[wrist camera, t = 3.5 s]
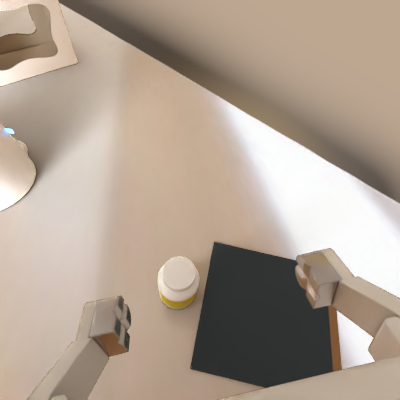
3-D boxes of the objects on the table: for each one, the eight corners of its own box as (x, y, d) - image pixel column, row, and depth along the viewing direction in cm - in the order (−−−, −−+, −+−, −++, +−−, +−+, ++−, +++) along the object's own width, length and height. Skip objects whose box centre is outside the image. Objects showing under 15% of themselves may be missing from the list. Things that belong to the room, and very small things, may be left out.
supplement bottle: (201, 302, 37) (208, 286, 28) (165, 316, 35) (162, 304, 27) (188, 268, 39) (192, 244, 31) (155, 280, 38) (150, 258, 30)
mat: (190, 368, 32) (190, 368, 32) (214, 242, 42) (214, 241, 42) (343, 406, 32) (345, 406, 31) (331, 269, 41) (332, 268, 41)
